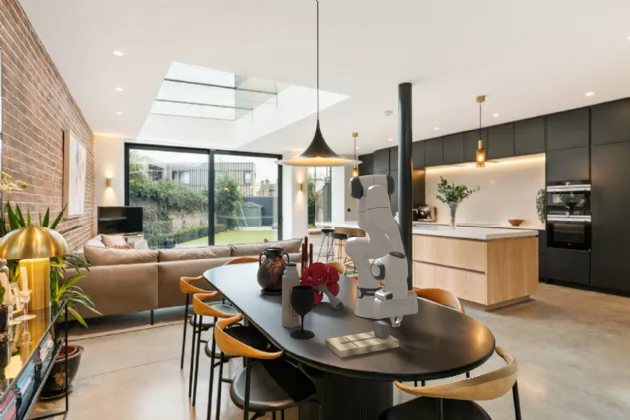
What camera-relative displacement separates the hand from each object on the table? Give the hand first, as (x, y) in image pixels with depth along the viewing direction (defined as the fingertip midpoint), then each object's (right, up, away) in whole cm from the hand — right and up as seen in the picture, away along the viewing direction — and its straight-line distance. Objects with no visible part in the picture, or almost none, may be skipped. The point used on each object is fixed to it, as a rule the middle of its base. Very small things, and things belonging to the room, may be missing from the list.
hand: (396, 326), depth 142 cm
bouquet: (-30, -5, +51) cm, 59 cm away
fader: (-6, -3, -3) cm, 7 cm away
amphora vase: (-59, -5, +77) cm, 97 cm away
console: (-15, -6, -7) cm, 17 cm away
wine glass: (-38, -5, +5) cm, 39 cm away
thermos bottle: (-44, -5, +17) cm, 48 cm away
